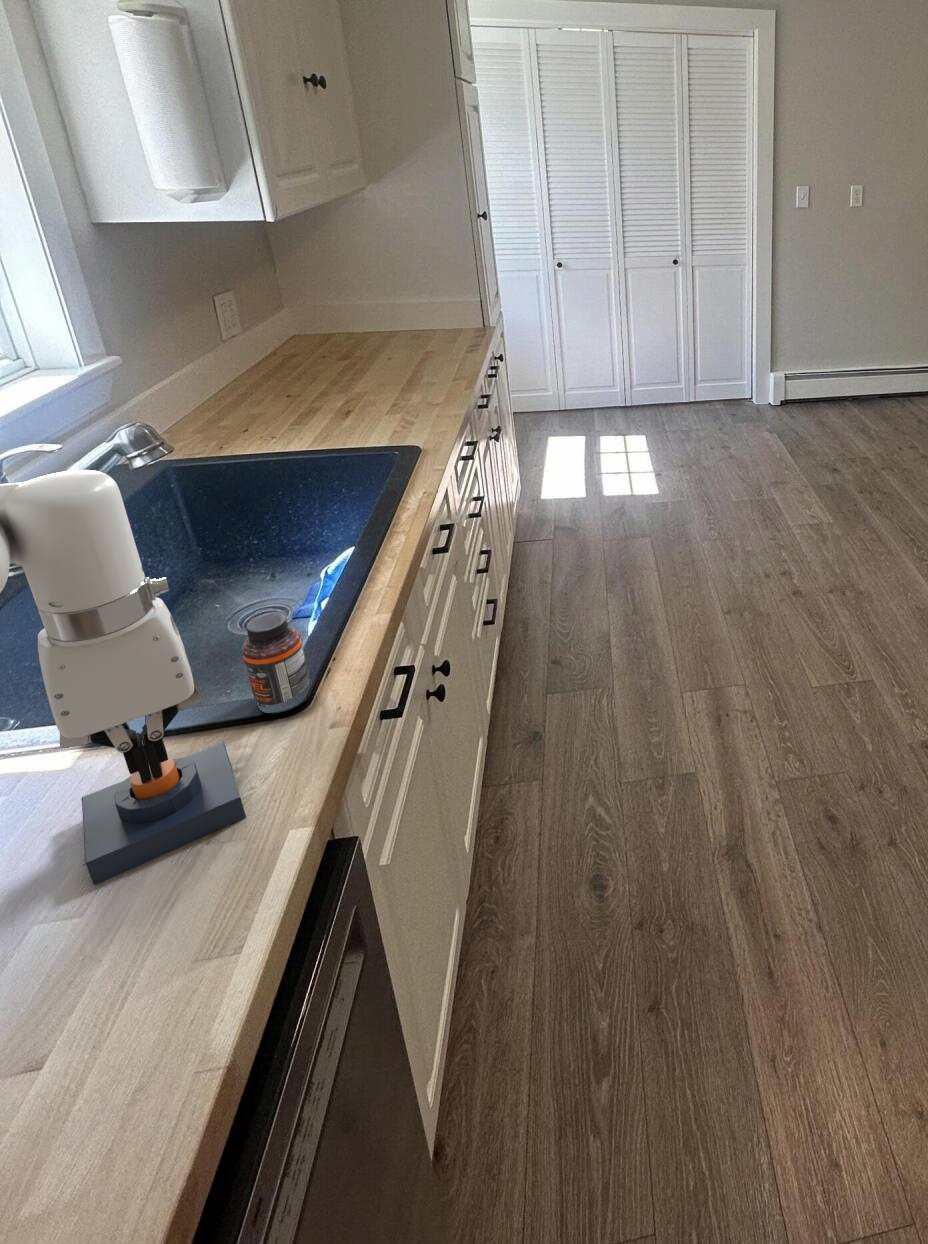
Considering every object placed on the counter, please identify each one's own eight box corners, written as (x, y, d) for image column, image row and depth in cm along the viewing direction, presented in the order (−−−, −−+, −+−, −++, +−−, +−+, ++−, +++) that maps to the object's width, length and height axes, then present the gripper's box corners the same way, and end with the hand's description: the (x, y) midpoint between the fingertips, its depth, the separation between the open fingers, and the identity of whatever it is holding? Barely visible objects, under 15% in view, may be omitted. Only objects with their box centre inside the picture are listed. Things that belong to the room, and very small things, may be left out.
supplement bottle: (244, 709, 93) (222, 628, 89) (289, 680, 98) (270, 602, 94) (281, 723, 91) (260, 640, 87) (324, 692, 96) (306, 612, 92)
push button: (136, 807, 75) (130, 791, 74) (133, 785, 77) (127, 769, 76) (182, 789, 77) (176, 772, 76) (177, 768, 79) (172, 752, 79)
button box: (93, 886, 71) (79, 848, 70) (89, 817, 78) (75, 782, 77) (246, 818, 78) (236, 782, 77) (229, 761, 86) (219, 727, 84)
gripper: (193, 565, 77) (234, 717, 83) (-14, 619, 68) (50, 785, 74) (204, 597, 72) (247, 757, 78) (-19, 660, 63) (51, 836, 69)
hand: (151, 770), depth 76 cm, fingers closed
